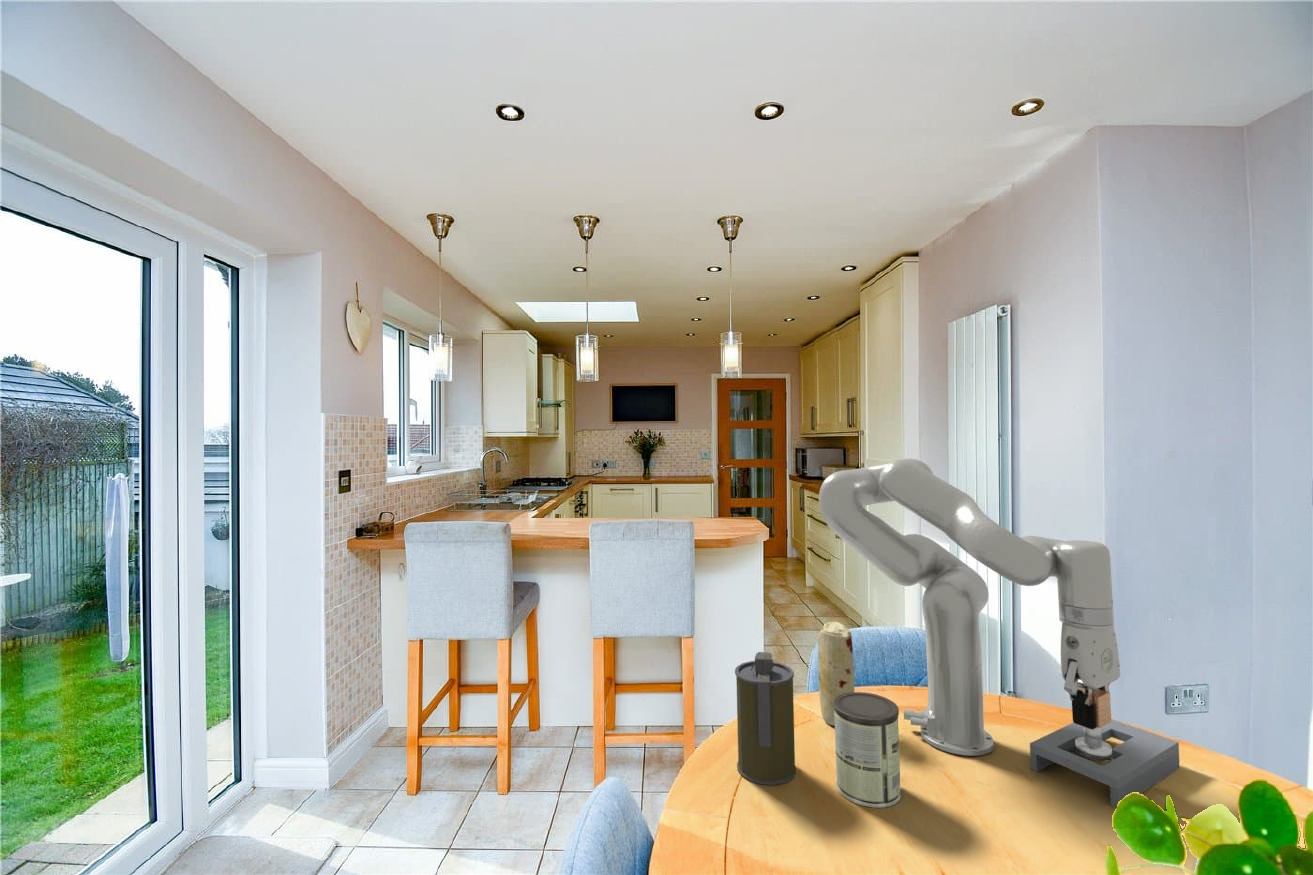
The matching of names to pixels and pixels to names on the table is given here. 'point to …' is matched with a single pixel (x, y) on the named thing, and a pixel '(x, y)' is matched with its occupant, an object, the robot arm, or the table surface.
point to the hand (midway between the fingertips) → (1091, 721)
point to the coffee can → (867, 749)
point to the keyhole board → (1133, 762)
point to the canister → (765, 721)
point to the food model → (834, 666)
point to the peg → (1096, 729)
